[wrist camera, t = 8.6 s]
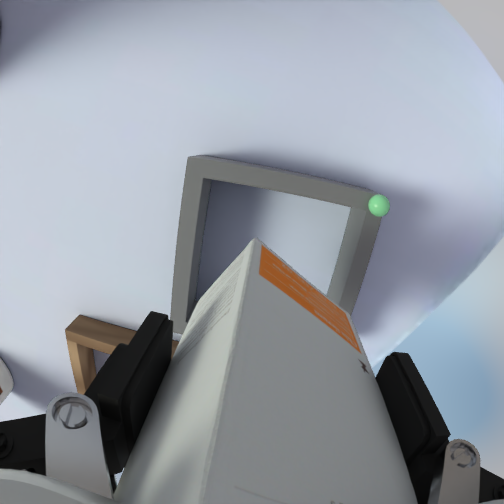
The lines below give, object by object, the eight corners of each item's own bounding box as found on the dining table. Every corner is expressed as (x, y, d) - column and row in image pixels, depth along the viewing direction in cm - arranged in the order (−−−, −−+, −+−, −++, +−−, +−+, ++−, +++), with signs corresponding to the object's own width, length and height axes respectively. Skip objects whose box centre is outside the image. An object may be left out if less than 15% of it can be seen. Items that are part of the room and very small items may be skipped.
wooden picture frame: (79, 314, 23) (65, 329, 21) (203, 346, 23) (197, 367, 21) (93, 400, 27) (84, 416, 25) (193, 429, 27) (189, 448, 25)
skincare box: (352, 311, 14) (440, 561, 3) (291, 365, 15) (300, 600, 4) (253, 229, 13) (189, 552, 2) (194, 297, 14) (85, 553, 3)
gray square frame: (199, 153, 19) (183, 155, 15) (372, 188, 19) (395, 199, 15) (180, 309, 22) (165, 340, 19) (328, 335, 22) (337, 369, 19)
